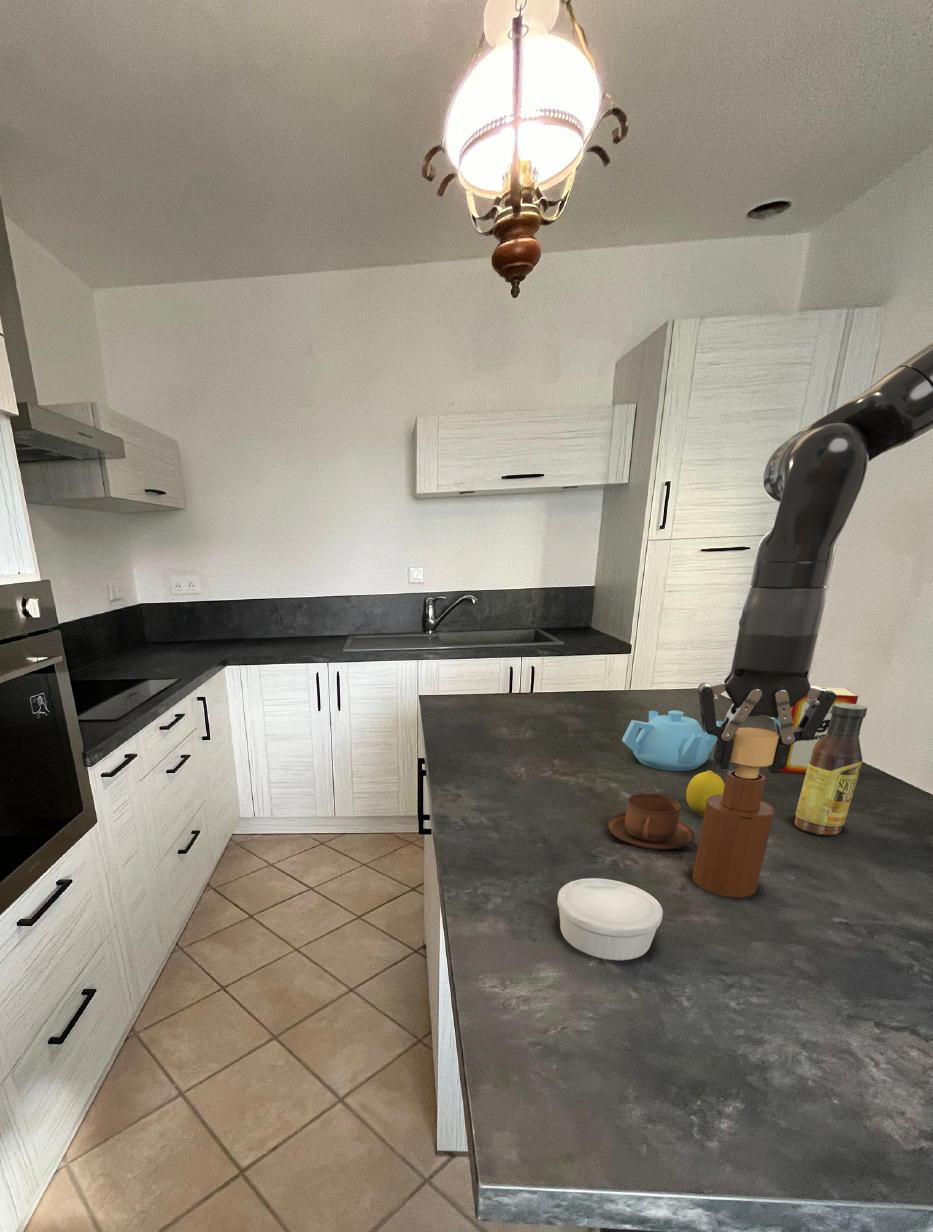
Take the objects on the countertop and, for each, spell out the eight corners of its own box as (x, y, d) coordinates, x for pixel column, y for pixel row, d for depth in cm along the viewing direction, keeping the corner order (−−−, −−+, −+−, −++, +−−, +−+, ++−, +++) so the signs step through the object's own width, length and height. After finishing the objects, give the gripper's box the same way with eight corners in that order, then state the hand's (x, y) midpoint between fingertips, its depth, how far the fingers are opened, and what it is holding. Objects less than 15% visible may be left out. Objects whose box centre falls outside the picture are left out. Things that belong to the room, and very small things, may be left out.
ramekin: (630, 912, 78) (636, 875, 76) (675, 968, 67) (683, 927, 65) (541, 915, 78) (545, 878, 76) (572, 971, 67) (577, 930, 65)
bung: (763, 770, 78) (773, 728, 76) (773, 784, 74) (784, 739, 72) (720, 767, 79) (728, 726, 77) (727, 780, 75) (736, 736, 73)
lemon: (719, 824, 100) (729, 778, 97) (681, 818, 103) (689, 773, 100) (721, 812, 104) (730, 768, 102) (684, 806, 107) (691, 763, 104)
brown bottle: (747, 878, 84) (772, 768, 78) (760, 906, 78) (788, 788, 72) (688, 871, 87) (708, 763, 81) (696, 897, 80) (718, 782, 75)
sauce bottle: (832, 841, 93) (868, 713, 86) (785, 828, 98) (815, 705, 91) (848, 829, 97) (883, 705, 90) (802, 817, 102) (832, 698, 94)
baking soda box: (827, 765, 123) (847, 686, 118) (836, 776, 118) (858, 693, 112) (771, 761, 127) (788, 684, 121) (778, 771, 121) (796, 691, 116)
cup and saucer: (702, 860, 89) (709, 821, 87) (613, 853, 92) (618, 815, 90) (680, 825, 100) (686, 790, 98) (601, 820, 103) (605, 786, 101)
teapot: (646, 746, 139) (653, 699, 135) (720, 760, 129) (729, 709, 125) (616, 763, 129) (622, 712, 125) (693, 779, 119) (702, 725, 115)
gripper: (712, 631, 69) (686, 774, 75) (867, 633, 64) (827, 785, 71) (701, 623, 76) (678, 755, 82) (842, 624, 71) (807, 764, 77)
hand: (747, 768), depth 76 cm, fingers closed on bung, 4 cm apart
